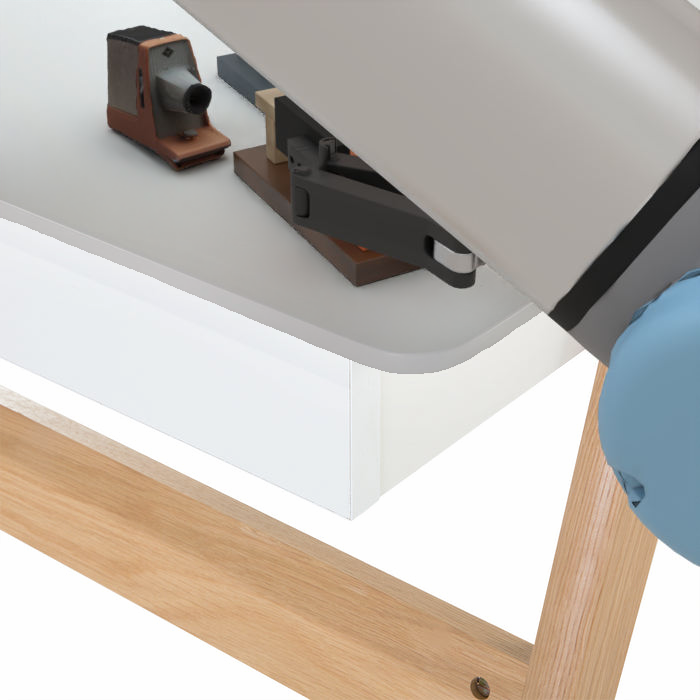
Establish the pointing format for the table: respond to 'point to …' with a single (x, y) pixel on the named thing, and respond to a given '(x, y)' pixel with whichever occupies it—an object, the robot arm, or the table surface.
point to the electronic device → (160, 96)
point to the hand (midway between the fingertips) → (396, 96)
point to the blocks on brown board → (275, 188)
